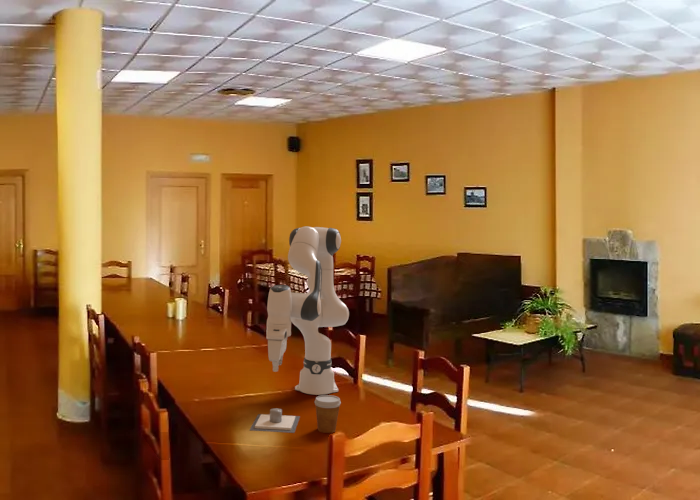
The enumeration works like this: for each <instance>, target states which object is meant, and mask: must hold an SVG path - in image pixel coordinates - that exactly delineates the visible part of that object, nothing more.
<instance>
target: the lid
mask: <svg viewBox="0 0 700 500" xmlns="http://www.w3.org/2000/svg"><path fill="white" fill-rule="evenodd" d="M260 414H261V415H260V417H259V419H258V421H257V423H256V425H255V428H262V429H280V430H291V429H292V426H293V423H294V421H295V416H296V415H285V416H283V409H282V408H277V407H276V408H271V409H269V414H266V415H265V414H264V413H260Z"/></svg>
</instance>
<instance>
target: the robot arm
mask: <svg viewBox="0 0 700 500" xmlns="http://www.w3.org/2000/svg"><path fill="white" fill-rule="evenodd" d="M288 241H289V250H288V253H287V260H288V264H289V265H290V266H291V268H292V269H293V270H294V271H296V272H298V273H300V274H303V275H304V276H306V277H307V281H306V282H307V288H308V289H309V291H308V292H304V293H302V292H292V290H291V287H290V286H289V285H287V284H276V285H273V286H271V287H270V288H269V292H268V297H267V308H266V311H267V319H266V334H265V335H266V337H265V338H266V340H267V354H268V360H269V362H272V363H271V364H272V372H275V373H276V372H279V366H282V364H283V359H284V358H283V357H284V353H286V350H287V343H288V342H287V340H288V337H291V335H292V324H293V325H294V326H295V327H296V328H297V329H298V330H299V331H300V332H301V334H302V337H303V340H304V350H305V351H304V353H305V354H304V358H303V368H302V369H300V371H299V383H298V384H297V385H295V386H294V390H295V391H298V392H301V393H304V394H307V395H313V396H314V395H316V396H317V395H318V396H321V395H328V394H329V395H330V394H332V393H338V392H339V388H338V386H337V384H336V380H335V372H334V371H333V370H332V364H333V363H332V356H331V353H332V342H331V340H330V338H329V337H327V336H326V335H324V334H322V333H320V332H319V328H323V327H324V328H333V327H334V328H335V327H340V326H344V325H346V323H347V322H348V320H349V317H350V311H349V308H348V307H347V304H345V303H344V302H343V301H342V300H341V299H340V298H339V296H338V295H337V293H336V291H335V290H336V289H335V286H334V257H333V256H334V255H335V254H336V253H337V252H338V251H339V250H340V248H341V243H342V238H341V233H340V231H339V230H338V229H337V228H332V227H329V228H328V227H323V226H321V227H320V226H314V227H312V226H308V225H307V226H302V227H296V228H294V229H292V231H291V232H290V234H289V238H288Z"/></svg>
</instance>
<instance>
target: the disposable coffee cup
mask: <svg viewBox="0 0 700 500" xmlns="http://www.w3.org/2000/svg"><path fill="white" fill-rule="evenodd" d="M341 404H342V402H341V398H340V397H339V396H336V395H332V394H331V395H330V394H329V395H328V394H323V395H318V396H316V397H315V400H314V405H315V413H316V415H315V416H316V425H317V431H318V432H320V433H324V434H325V433H326V434H330V433H333V432H335V433H336V428H337V425H338V424H337V422H338V417H339V410H340V406H341Z"/></svg>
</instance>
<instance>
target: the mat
mask: <svg viewBox="0 0 700 500" xmlns="http://www.w3.org/2000/svg"><path fill="white" fill-rule="evenodd" d="M261 414H262V413H258V414H257V416H256V417H255V419H254V420H253V423H252V424H251V426H250V429H249V431H254V432H270V433H271V432H273V433H289V434H295V432H296V430H297V426H298V424H299V421H300V419H301V416H300V415H294V416H295V421H294V423H293V426H292V429H291V430H280V429H262V428H255V425H256V423H257V421H258V419H259V417H260V415H261ZM265 415H267V414H265ZM282 415H283V414H282ZM283 416H286V415H283Z"/></svg>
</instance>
